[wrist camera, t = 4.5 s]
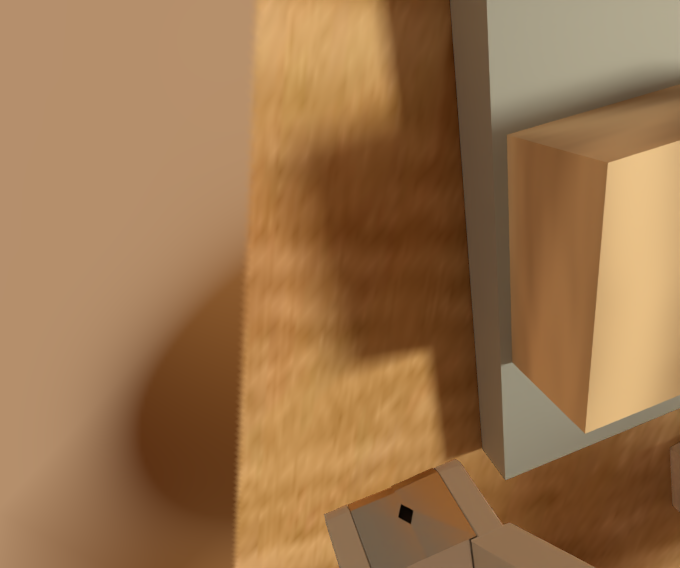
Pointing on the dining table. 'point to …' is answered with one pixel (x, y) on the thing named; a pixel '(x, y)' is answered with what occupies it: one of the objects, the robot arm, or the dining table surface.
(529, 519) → the dining table surface
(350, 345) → the dining table surface
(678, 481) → the milk carton
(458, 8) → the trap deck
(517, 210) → the maple block
